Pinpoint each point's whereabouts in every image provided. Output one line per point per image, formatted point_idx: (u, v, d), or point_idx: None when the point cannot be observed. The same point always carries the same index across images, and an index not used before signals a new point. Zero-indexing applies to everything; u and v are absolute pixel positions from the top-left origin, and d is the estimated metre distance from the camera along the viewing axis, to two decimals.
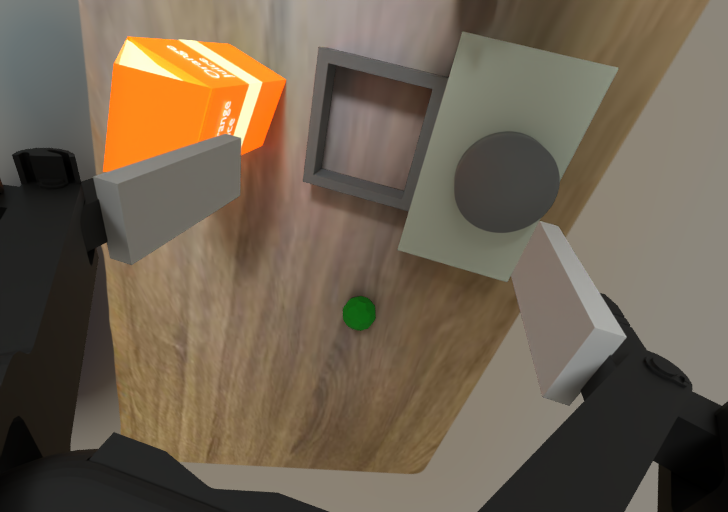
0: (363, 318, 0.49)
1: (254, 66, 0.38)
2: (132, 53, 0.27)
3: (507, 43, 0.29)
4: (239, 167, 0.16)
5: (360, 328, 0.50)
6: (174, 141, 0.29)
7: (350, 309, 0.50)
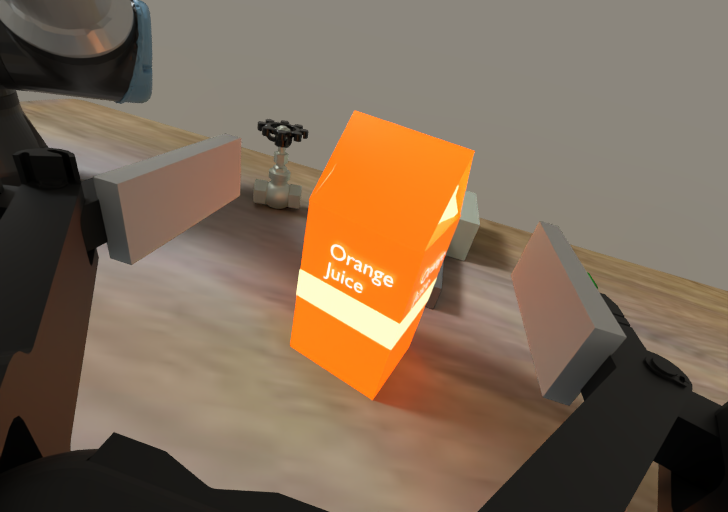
0: None
1: None
2: None
3: None
4: (239, 167, 0.16)
5: None
6: None
7: None
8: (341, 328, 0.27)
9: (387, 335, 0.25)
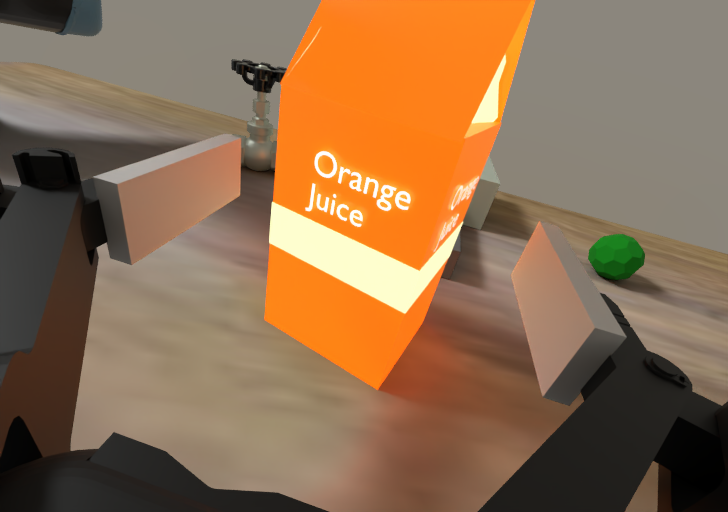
0: (613, 235, 0.38)
1: None
2: None
3: None
4: (239, 167, 0.16)
5: None
6: None
7: (615, 246, 0.37)
8: (332, 287, 0.19)
9: (400, 291, 0.17)
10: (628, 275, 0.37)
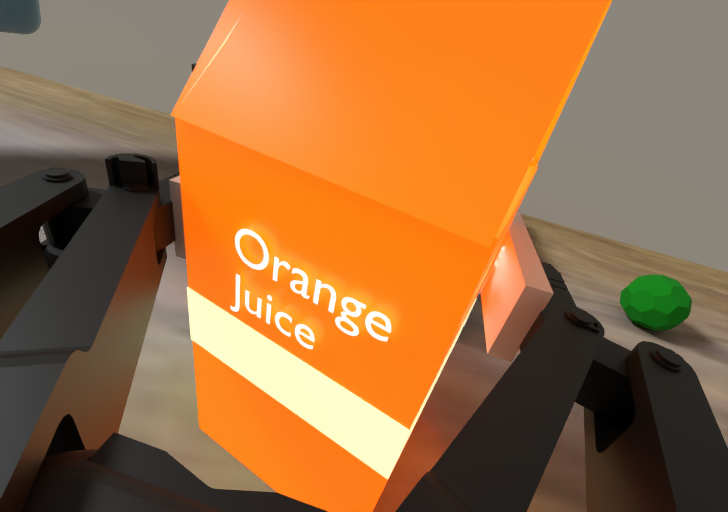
0: (652, 276, 0.32)
1: None
2: None
3: None
4: None
5: None
6: None
7: (655, 292, 0.30)
8: (280, 415, 0.12)
9: (379, 448, 0.10)
10: (671, 326, 0.30)
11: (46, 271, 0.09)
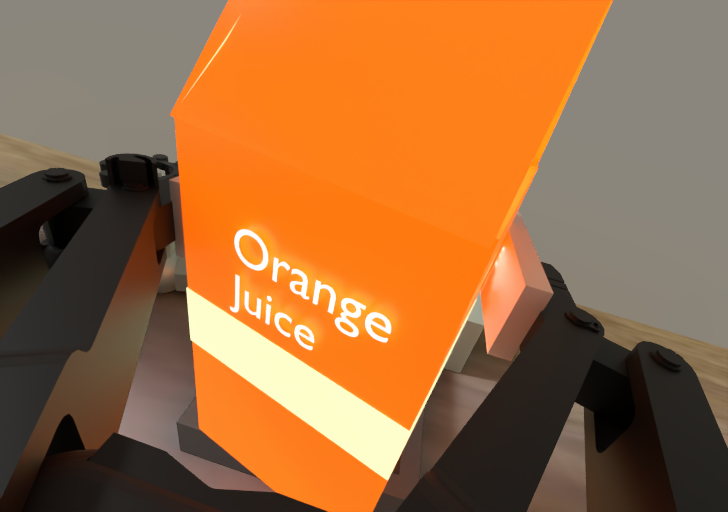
0: None
1: None
2: None
3: None
4: None
5: None
6: None
7: None
8: (279, 416, 0.12)
9: (379, 449, 0.10)
10: None
11: (46, 271, 0.09)
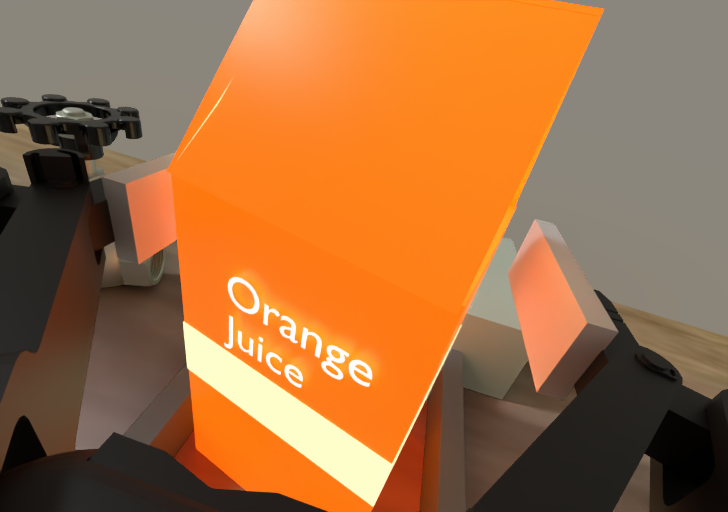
0: None
1: None
2: None
3: None
4: None
5: None
6: None
7: None
8: (272, 442, 0.13)
9: (364, 478, 0.11)
10: None
11: None
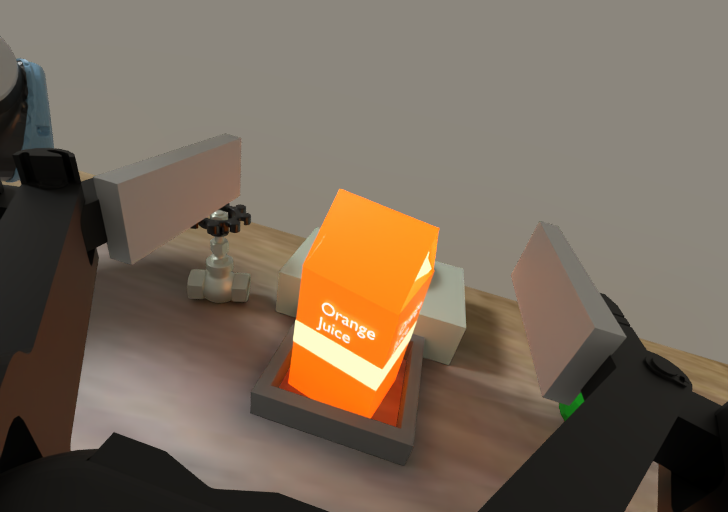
0: None
1: None
2: None
3: (292, 256, 0.44)
4: (239, 167, 0.16)
5: None
6: None
7: None
8: (332, 371, 0.31)
9: (372, 378, 0.29)
10: None
11: None
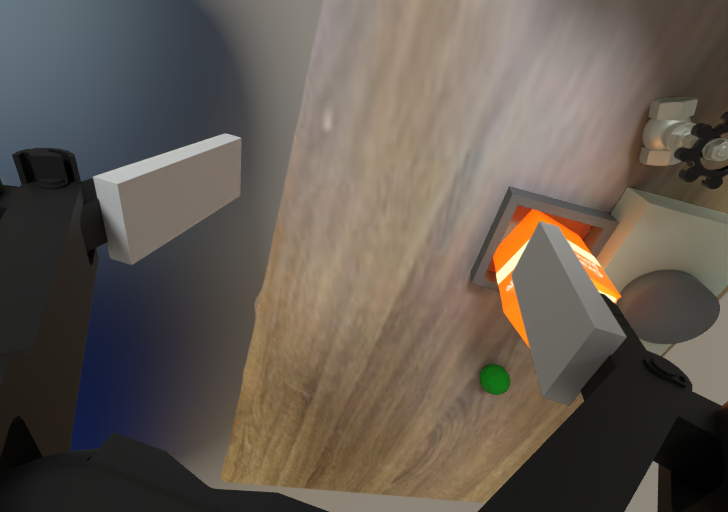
0: (503, 386, 0.59)
1: (566, 232, 0.46)
2: None
3: (685, 214, 0.39)
4: (239, 167, 0.16)
5: (498, 394, 0.60)
6: None
7: (491, 378, 0.59)
8: (516, 249, 0.46)
9: (499, 275, 0.46)
10: (480, 375, 0.62)
11: None
